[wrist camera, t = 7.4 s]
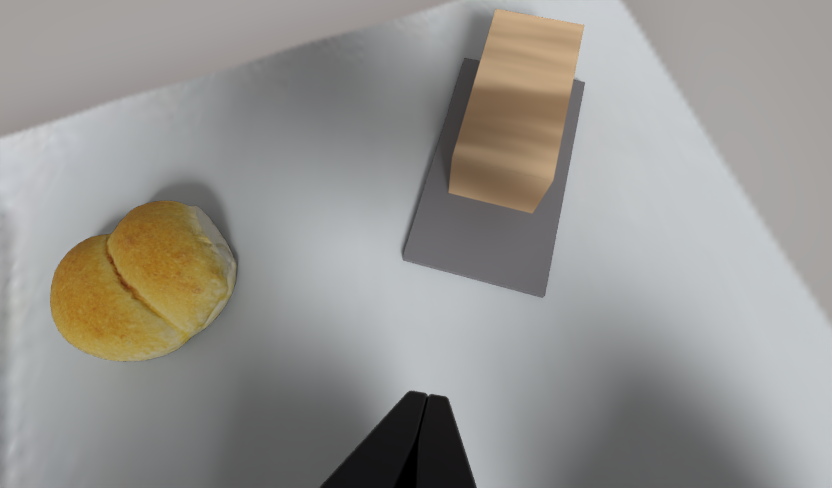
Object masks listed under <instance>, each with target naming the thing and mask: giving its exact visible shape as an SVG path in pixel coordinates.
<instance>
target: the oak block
mask: <svg viewBox="0 0 832 488" xmlns="http://www.w3.org/2000/svg"><path fill="white" fill-rule="evenodd" d="M583 29H584V25H581V24H575V23H570V22H564V21H559V20H554V19H548V18H543V17H538V16H532V15H527V14H521V13H516V12H511V11H505V10H500V9H496V10H495V13H494V17H493V20H492V23H491V27H490V30H489V34H488V37H487V40H486V44H485V47H484V51H483V54H482V57H481V61H480V64H479V68H478V71H477V74H476V78H475V81H474V85H473V88H472V91H471V95H470V98H469V102H468V105H467V108H466V112H465V115H464V119H463V122H462V125H461V129H460V132H459V136H458V139H457V142H456V146H455V149H454V153H453V156H452V163H451V173H450V183H449V192H448V193H451V194H455V195H459V196H463V197H467V198H471V199H475V200H479V201H483V202H487V203H492V204H496V205H500V206H504V207H508V208H512V209H516V210H520V211H524V212H528V213H532V214H533V212H534V210H535V209H536V207H537V206H538V204H539V203H540V201H541V199H542V198H543V196H544V195H545V193H546V191H547V190H548V188H549V187H550V185H551V184H552V182H553V179H554V174H555V169H556V164H557V159H558V154H559V149H560V144H561V139H562V134H563V129H564V124H565V119H566V114H567V109H568V104H569V99H570V94H571V89H572V84H573V79H574V74H575V69H576V64H577V59H578V54H579V49H580V44H581V39H582V34H583Z"/></svg>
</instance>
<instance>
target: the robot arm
mask: <svg viewBox="0 0 832 488" xmlns="http://www.w3.org/2000/svg"><path fill="white" fill-rule="evenodd" d="M319 488H477V487H476V483H475V480H474V477H473V474H472V471H471V468H470V465H469V461H468V458H467V455H466V452H465V449H464V446H463V443H462V440H461V436H460V433H459V430H458V427H457V424H456V421H455V418H454V414H453V411H452V408H451V405H450V402H449V399H448V398H447V397H446V396H440V395H434V394H430V395H429V396H428V395H427V394H426V393H423V392H417V391H409V392H407V393H406V394H405V395H404V397H403V398H402V399H401V400H400V401H399V402H398V403H397V404H396V405H395V406H394V407H393V408H392V410H391V411H390V412H389V413H388V414H387V415H386V416H385V417H384V418H383V419H382V420H381V421H380V423H379V424H378V425H377V426H376V427H375V428H374V429H373V430H372V431H371V432H370V433H369V434H368V435H367V437H366V438H365V439H364V440H363V441H362V442H361V443H360V444H359V445H358V446H357V447H356V448H355V450H354V451H353V452H352V453H351V454H350V455H349V456H348V457H347V458H346V459H345V460H344V461H343V463H342V464H341V465H340V466H339V467H338V468H337V469H336V470H335V471H334V472H333V473H332V474H331V476H330V477H329V478H328V479H327V480H326V481H325V482H324V483H323V484H322V485H321V486H320V487H319Z"/></svg>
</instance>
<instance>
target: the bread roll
mask: <svg viewBox="0 0 832 488" xmlns="http://www.w3.org/2000/svg"><path fill="white" fill-rule="evenodd" d="M236 268H237V265H236V262H235V260H234V257H233V255H232V253H231V251H230V248H229V246H228V244H227V242H226V240H225V239H224V238H223V237H222V235H221V233H220V232H219V231H218V229H217V228H216V226H215V225H214V224H213V222H212V220H211V219H210V218H209V217H208V216H207V215H206V214H205V213H204V212H203V211H202V209H200V208H199V207H197V206H188V205H185V204H182V203H180V202H175V201H155V202H151V203H147V204H144V205H141V206H138V207H136V208H134V209H133V210H131V211H130V212H129V213H128V214H127V215H126V216H125V217H124V218H123V219H122V220H121V221H120V222H119V224H118V225H117V227H116V228H115V230H114V231H113V232H112V234H105V235H98V236H93V237H90V238H88V239H86V240H84V241H83V242H80V243H79V244H77V245H76V246H75V247H74V248H72V249H71V250H70V251H69V252H68V253H67V254H66V255H65V257H64V258H63V259H62V260H61V262H60V264H59V265H58V267H57V269H56V271H55V273H54V277H53V281H52V285H51V297H50V305H51V312H52V316H53V320H54V322H55V324H56V326H57V329H58V331H59V332H60V333H61V334H62V336H63V337H64V338H65V339H66V340H67V341H68V342H69V343H71V344H72V345H73V346H75V347H76V348H78V349H80V350H82V351H83V352H85V353H87V354H90V355H93V356H95V357H99V358H102V359H106V360H113V361H125V362H126V361H142V360H149V359H152V358H156V357H161V356H165V355H166V354H169V353H171V352H173V351H175V350H177V349H179V348H180V347H181V346H183V345H184V344H185V343H186V342H187V341H188V340H189V339H190V338H191V337H192V336H194V335H196V334H197V333H199V332H200V331H202V330H204V329H205V328H206V327H207V326H209V325H210V324H211V323H212V322H213V321H214V320H215V319H216V318H217V316H218V315H219V314H220V313H221V311H222V310H223V309H224V307H225V306H226V304H227V302H228V300H229V298H230V296H231V295H232V293H233V289H234V285H235V280H236Z"/></svg>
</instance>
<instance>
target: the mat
mask: <svg viewBox="0 0 832 488" xmlns="http://www.w3.org/2000/svg"><path fill="white" fill-rule="evenodd" d="M479 64H480V61H477V60H472V59H467V58H464V61H463V64H462V67H461V71H460V74H459V77H458V80H457V83H456V87H455V90H454V93H453V96H452V100H451V103H450V106H449V109H448V113H447V116H446V119H445V122H444V125H443V129H442V132H441V135H440V138H439V142H438V145H437V148H436V151H435V154H434V158H433V161H432V164H431V167H430V171H429V174H428V177H427V180H426V183H425V187H424V190H423V193H422V196H421V200H420V203H419V206H418V209H417V212H416V216H415V219H414V222H413V225H412V229H411V232H410V235H409V238H408V241H407V245H406V248H405V251H404V254H403V260H404V261H408V262H412V263H415V264H419V265H423V266H427V267H430V268H434V269H438V270H441V271H445V272H449V273H453V274H456V275H460V276H464V277H467V278H471V279H475V280H479V281H482V282H486V283H490V284H494V285H497V286H501V287H505V288H508V289H512V290H516V291H520V292H523V293H527V294H531V295H534V296H538V297H544V296H545V292H546V287H547V281H548V276H549V271H550V265H551V260H552V255H553V250H554V244H555V239H556V234H557V228H558V223H559V218H560V212H561V207H562V202H563V196H564V191H565V186H566V181H567V175H568V170H569V165H570V159H571V154H572V149H573V143H574V138H575V133H576V127H577V122H578V117H579V111H580V106H581V101H582V96H583V90H584V85H585V82H581V81H576V80H573V84H572V89H571V94H570V99H569V104H568V109H567V114H566V119H565V124H564V129H563V134H562V139H561V144H560V149H559V154H558V159H557V164H556V169H555V174H554V179H553V182H552V184H551V185H550V187H549V188H548V190H547V191H546V193H545V195H544V196H543V198H542V199H541V201H540V203H539V204H538V206H537V207H536V209H535V210H534V212H533V214H532V213H528V212H524V211H520V210H516V209H512V208H508V207H504V206H500V205H496V204H492V203H487V202H483V201H479V200H475V199H471V198H467V197H463V196H459V195H455V194H451V193H448V192H449V183H450V173H451V163H452V156H453V153H454V149H455V146H456V142H457V139H458V136H459V132H460V129H461V125H462V122H463V119H464V115H465V112H466V108H467V105H468V102H469V98H470V95H471V91H472V88H473V85H474V81H475V78H476V74H477V71H478V68H479Z"/></svg>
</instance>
